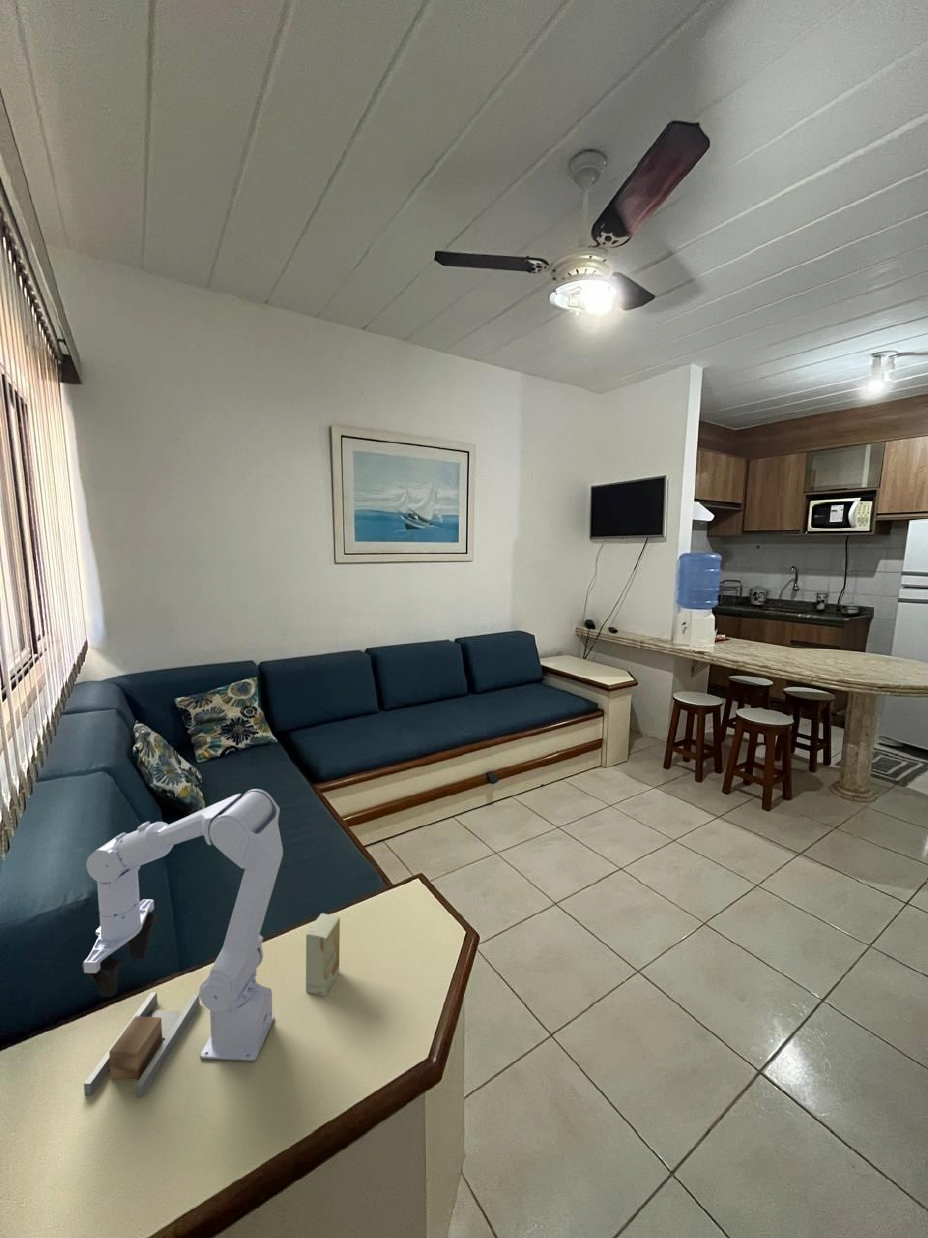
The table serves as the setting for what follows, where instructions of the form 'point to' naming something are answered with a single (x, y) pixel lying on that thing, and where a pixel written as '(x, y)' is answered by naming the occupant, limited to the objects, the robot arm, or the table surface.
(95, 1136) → the table surface
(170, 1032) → the channel
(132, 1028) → the walnut block
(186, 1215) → the table surface
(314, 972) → the skincare box
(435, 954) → the table surface
